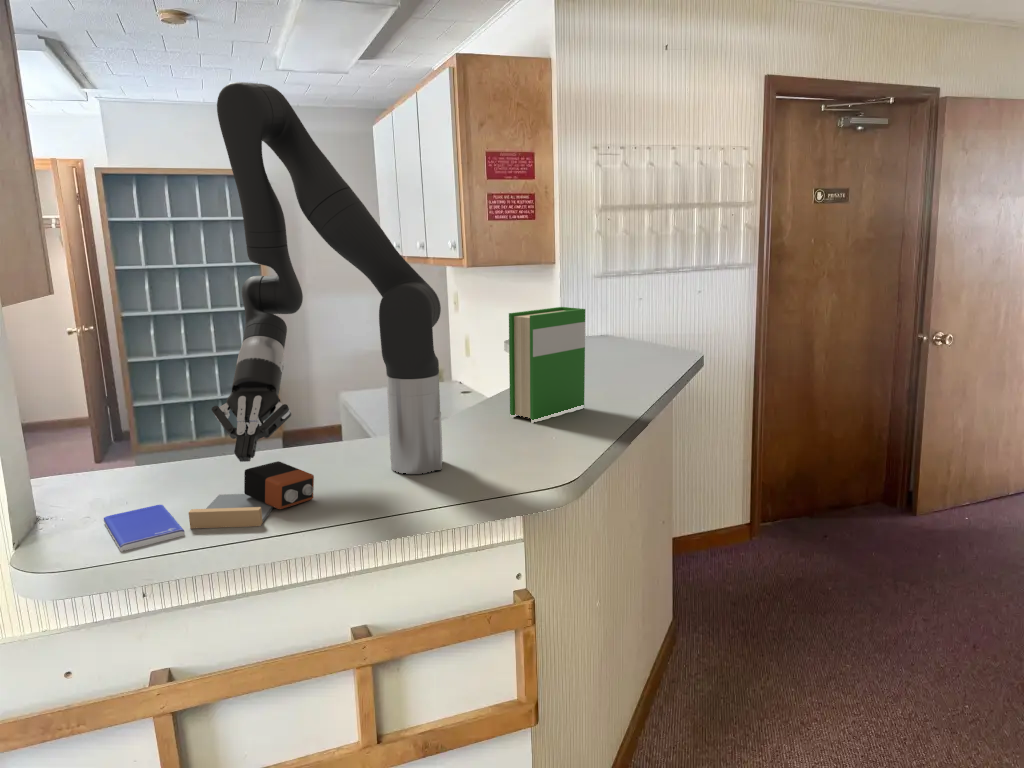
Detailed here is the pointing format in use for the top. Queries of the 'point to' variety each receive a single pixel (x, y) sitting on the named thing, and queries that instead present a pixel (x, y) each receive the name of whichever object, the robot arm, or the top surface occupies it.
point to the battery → (278, 484)
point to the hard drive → (142, 527)
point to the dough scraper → (230, 512)
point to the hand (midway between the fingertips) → (243, 459)
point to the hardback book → (546, 361)
